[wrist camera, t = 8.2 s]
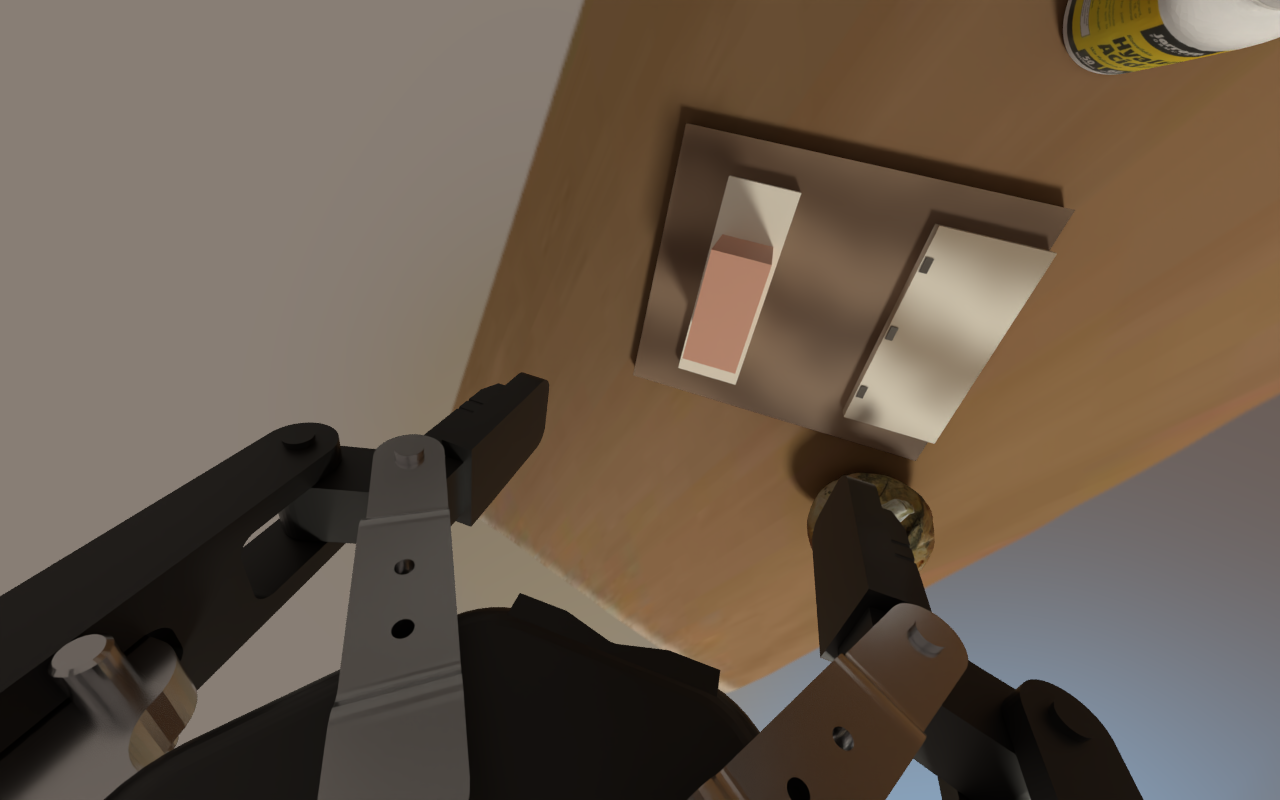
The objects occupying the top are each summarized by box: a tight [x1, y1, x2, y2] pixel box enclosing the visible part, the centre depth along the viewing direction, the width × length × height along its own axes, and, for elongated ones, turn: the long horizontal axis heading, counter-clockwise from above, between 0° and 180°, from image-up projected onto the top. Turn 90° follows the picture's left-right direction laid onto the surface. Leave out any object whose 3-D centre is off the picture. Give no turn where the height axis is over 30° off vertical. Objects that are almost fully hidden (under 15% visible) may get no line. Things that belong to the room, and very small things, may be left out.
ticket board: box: [633, 123, 1075, 461], centre depth 28 cm, size 16×20×2 cm
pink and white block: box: [678, 175, 801, 385], centre depth 26 cm, size 12×4×6 cm, turn 169°
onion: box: [807, 473, 935, 571], centre depth 31 cm, size 8×8×8 cm
